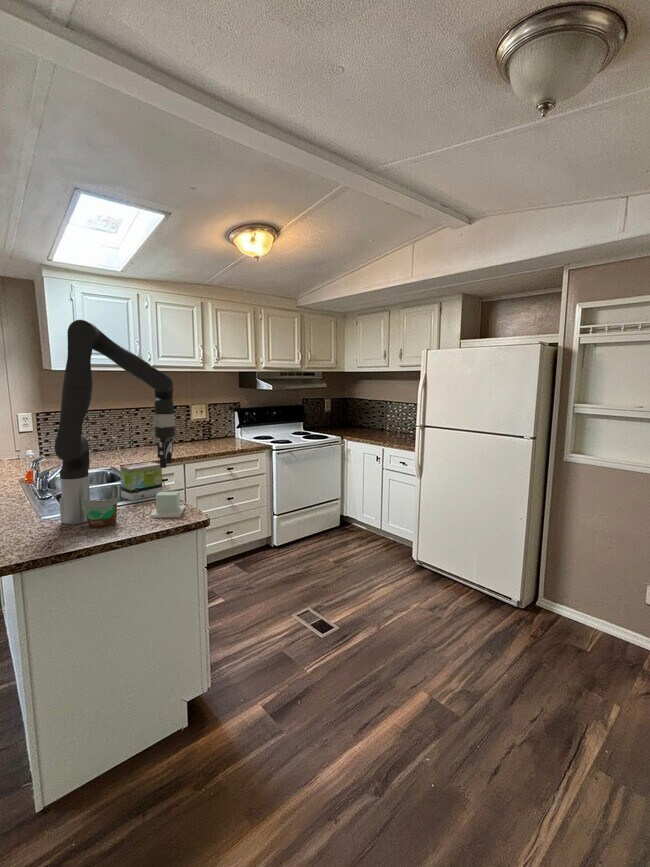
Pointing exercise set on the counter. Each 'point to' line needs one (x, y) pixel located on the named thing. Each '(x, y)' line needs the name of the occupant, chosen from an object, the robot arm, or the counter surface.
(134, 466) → the tea box
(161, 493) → the block
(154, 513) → the stub plate
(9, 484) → the counter surface
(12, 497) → the counter surface
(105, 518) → the food container
